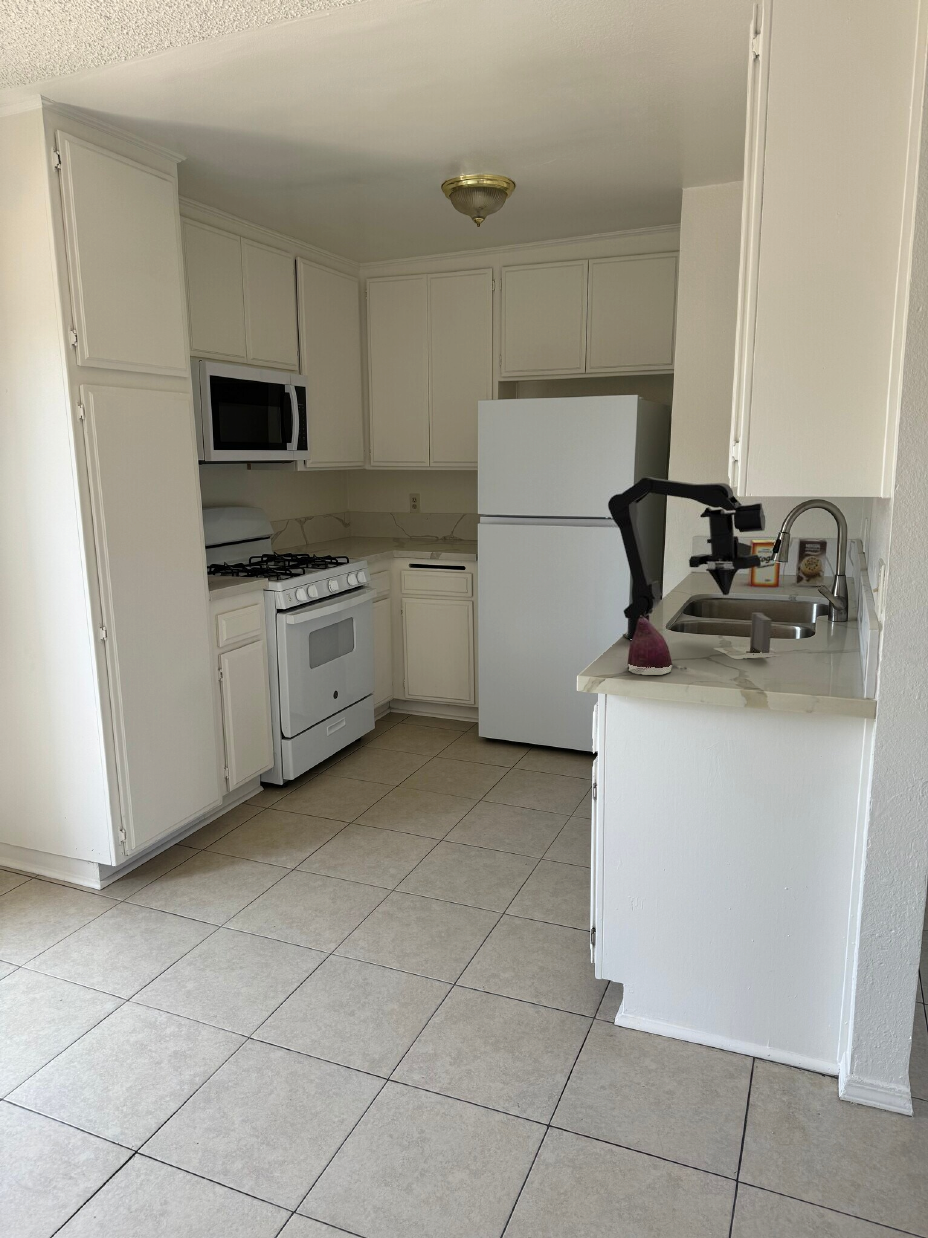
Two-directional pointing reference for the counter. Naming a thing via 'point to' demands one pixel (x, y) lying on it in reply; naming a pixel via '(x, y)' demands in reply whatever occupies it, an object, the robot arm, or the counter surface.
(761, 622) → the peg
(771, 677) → the counter surface
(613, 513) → the robot arm
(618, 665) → the counter surface
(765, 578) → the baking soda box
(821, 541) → the cookie box
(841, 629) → the counter surface
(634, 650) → the vegetable
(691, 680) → the counter surface
